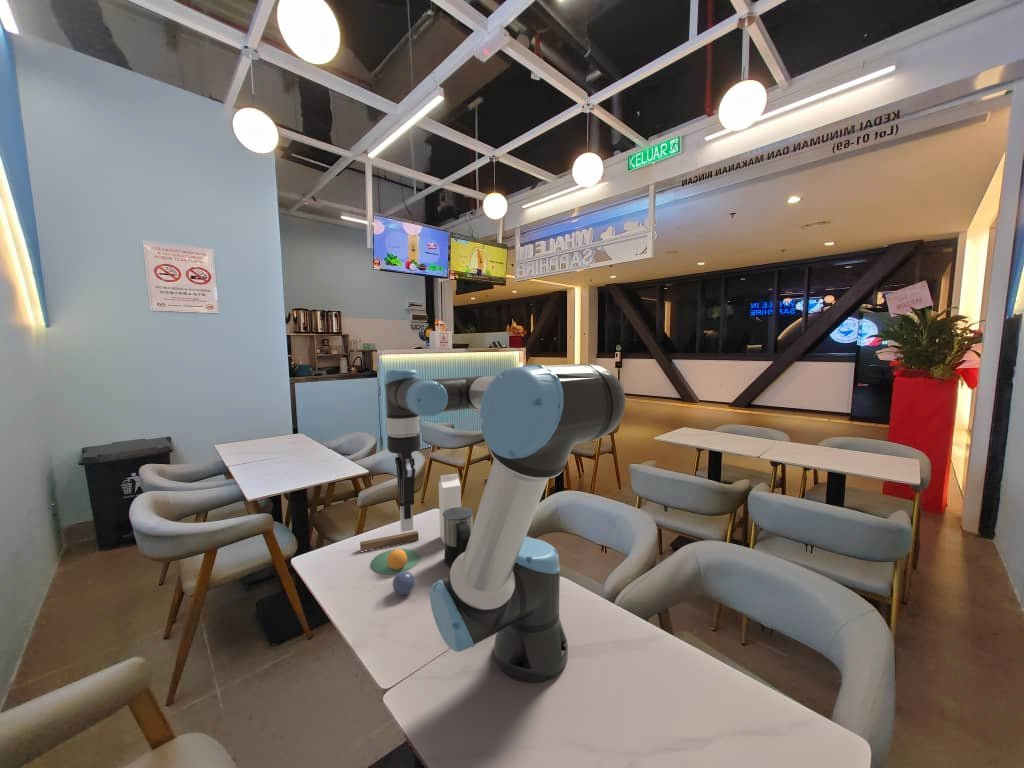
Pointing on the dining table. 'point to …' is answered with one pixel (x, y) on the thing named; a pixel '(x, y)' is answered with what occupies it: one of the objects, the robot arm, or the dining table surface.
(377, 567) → the green mark
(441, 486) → the milk
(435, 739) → the dining table surface
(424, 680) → the dining table surface
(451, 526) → the milk frother
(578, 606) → the dining table surface
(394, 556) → the orange ball
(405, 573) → the navy ball
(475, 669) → the dining table surface
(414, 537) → the walnut stopper
